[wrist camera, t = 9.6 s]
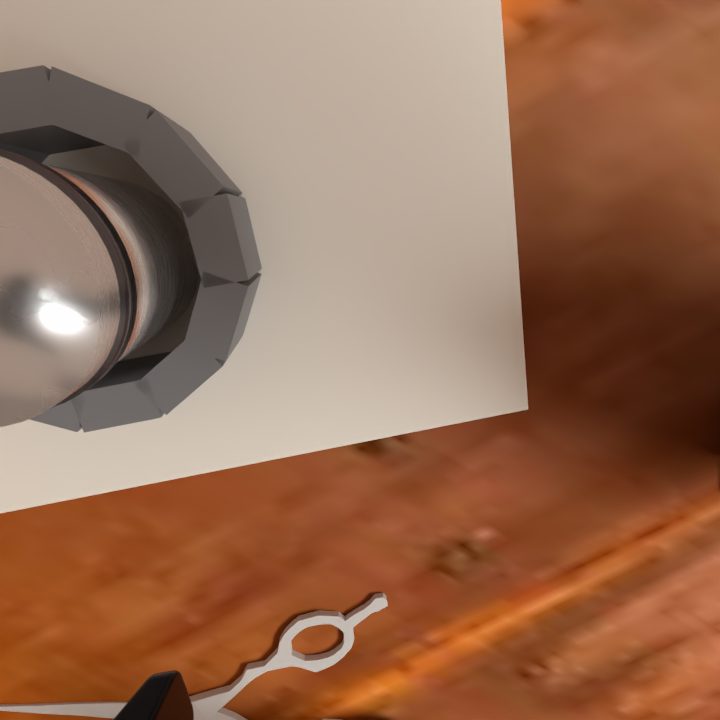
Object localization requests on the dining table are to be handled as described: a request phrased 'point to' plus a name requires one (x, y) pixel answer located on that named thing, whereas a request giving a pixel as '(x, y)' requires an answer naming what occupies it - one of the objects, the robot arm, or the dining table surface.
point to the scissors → (210, 703)
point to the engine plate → (279, 225)
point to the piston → (80, 279)
